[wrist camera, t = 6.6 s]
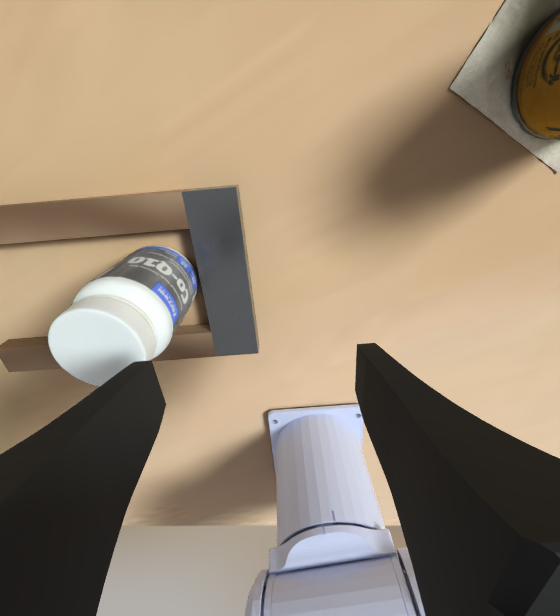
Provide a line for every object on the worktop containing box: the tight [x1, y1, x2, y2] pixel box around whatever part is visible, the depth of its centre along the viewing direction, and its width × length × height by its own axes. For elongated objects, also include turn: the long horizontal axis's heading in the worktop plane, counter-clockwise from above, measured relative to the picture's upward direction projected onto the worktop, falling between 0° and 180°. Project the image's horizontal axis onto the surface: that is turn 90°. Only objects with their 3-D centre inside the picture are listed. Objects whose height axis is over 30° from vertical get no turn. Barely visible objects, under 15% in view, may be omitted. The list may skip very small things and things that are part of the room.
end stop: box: [182, 185, 259, 356], centre depth 19 cm, size 11×3×1 cm, turn 4°
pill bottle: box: [48, 245, 198, 386], centre depth 16 cm, size 5×5×8 cm
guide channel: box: [0, 189, 216, 372], centre depth 20 cm, size 11×15×1 cm
